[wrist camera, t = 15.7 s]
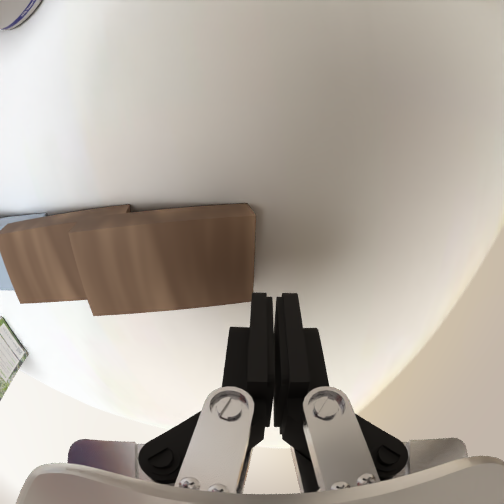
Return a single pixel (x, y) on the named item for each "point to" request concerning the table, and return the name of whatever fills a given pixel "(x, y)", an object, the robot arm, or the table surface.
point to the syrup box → (9, 356)
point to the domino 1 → (3, 281)
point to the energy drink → (15, 12)
